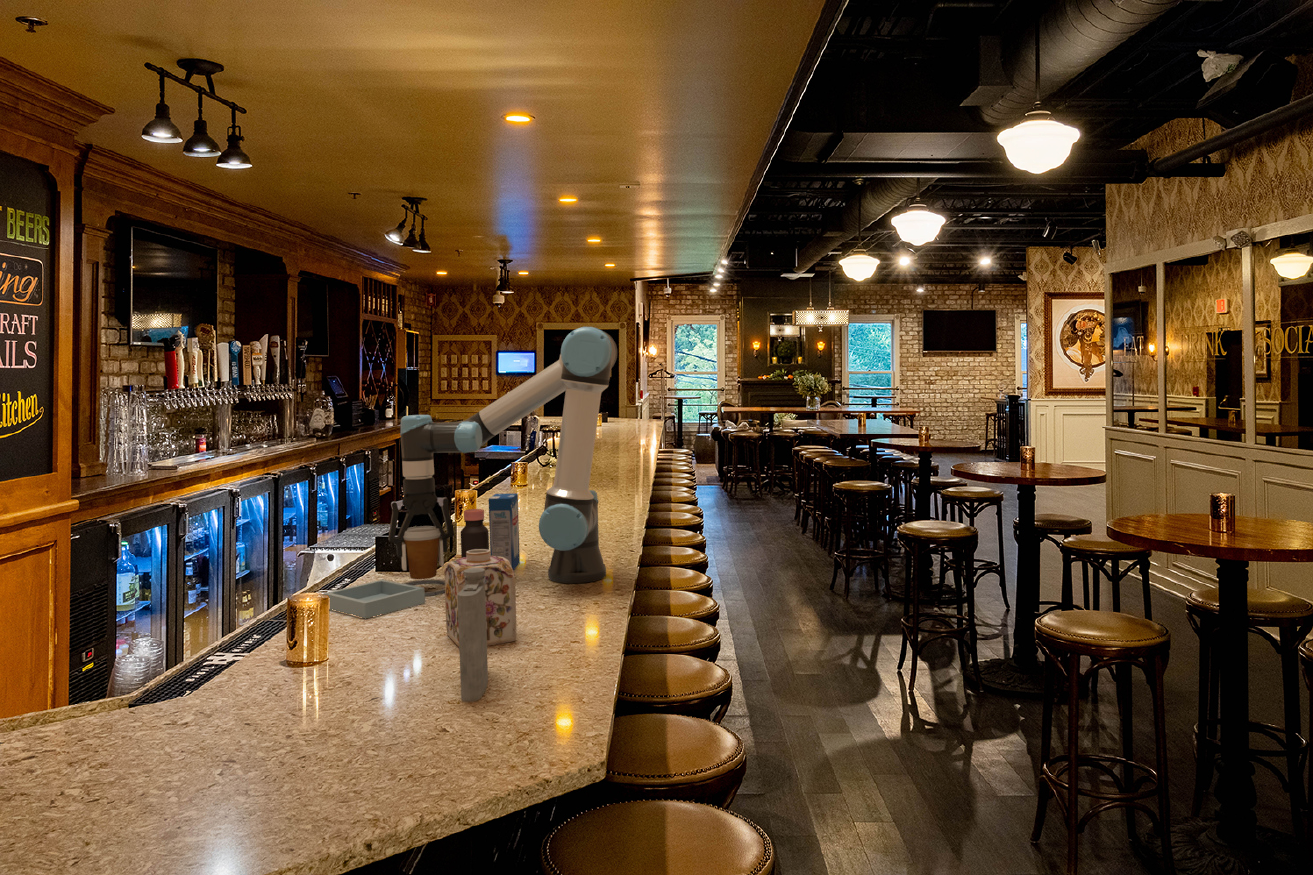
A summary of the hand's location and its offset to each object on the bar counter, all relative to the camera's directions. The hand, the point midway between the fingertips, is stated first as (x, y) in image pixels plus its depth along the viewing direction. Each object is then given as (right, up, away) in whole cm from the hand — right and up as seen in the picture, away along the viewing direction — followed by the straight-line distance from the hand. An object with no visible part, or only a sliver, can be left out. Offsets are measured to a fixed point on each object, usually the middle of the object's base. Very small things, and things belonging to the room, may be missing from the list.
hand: (423, 567), depth 211 cm
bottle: (+14, -6, -1) cm, 15 cm away
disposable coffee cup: (0, -3, 0) cm, 3 cm away
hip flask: (+28, -10, -66) cm, 72 cm away
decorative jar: (+23, -8, -40) cm, 47 cm away
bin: (-7, -7, -14) cm, 17 cm away
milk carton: (+16, -4, +24) cm, 29 cm away
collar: (0, -6, 0) cm, 6 cm away
